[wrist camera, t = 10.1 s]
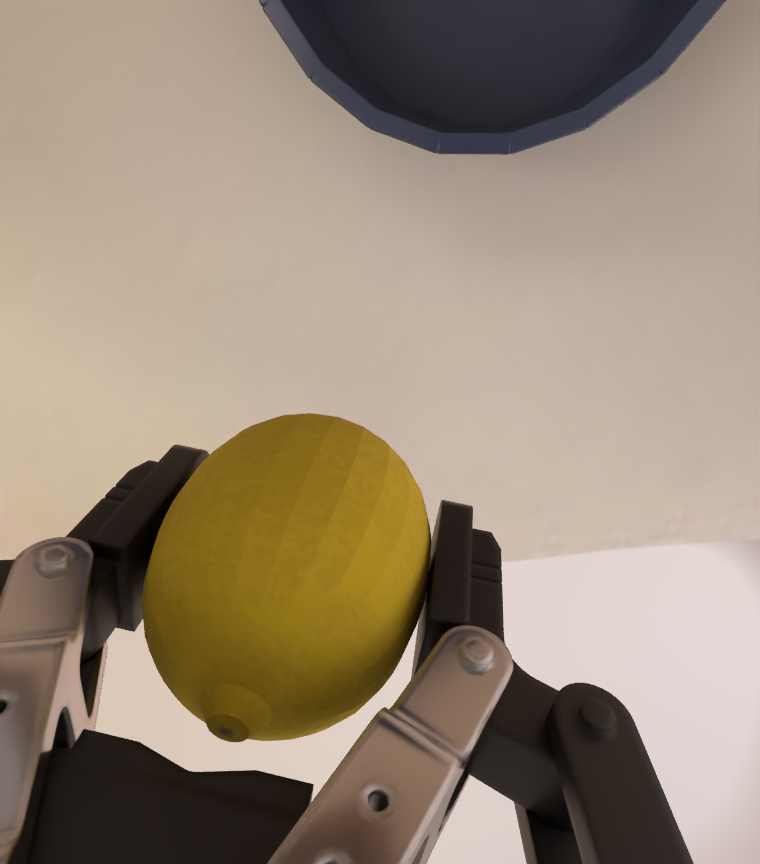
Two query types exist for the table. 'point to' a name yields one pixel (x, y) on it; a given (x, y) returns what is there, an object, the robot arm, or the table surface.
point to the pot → (485, 63)
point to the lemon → (287, 578)
